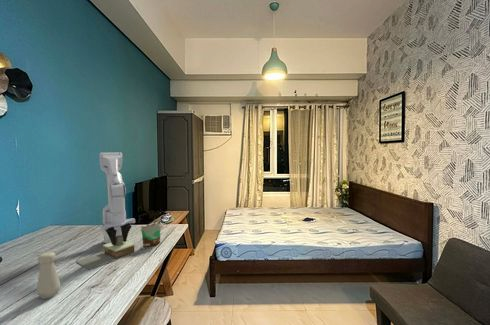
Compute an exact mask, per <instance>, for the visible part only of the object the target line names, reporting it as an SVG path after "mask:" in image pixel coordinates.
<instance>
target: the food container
mask: <svg viewBox="0 0 490 325" xmlns="http://www.w3.org/2000/svg"><path fill="white" fill-rule="evenodd" d="M162 227H163V224H162V222H161V220H159V219H154V221H153V222H151V223H148V224H147V225H146V226H145V225H144V226H143V225H142V226H141V227H140V232H141V236H142V239H141V240H142V247H143V248H153V247H156V246H158V245H159V244H160V243H161V230H162ZM152 246H153V247H152Z"/></svg>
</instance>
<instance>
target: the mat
mask: <svg viewBox="0 0 490 325" xmlns="http://www.w3.org/2000/svg"><path fill="white" fill-rule="evenodd" d="M116 261H117V258H114V257H112V256H110V255H108V254H105V253H102V252H101V253H99V254H95V255H93V256H92V255H91V256H89V257H86V258H83V259H80V260H77V261H75V262H76V264H79V265H80V266H82V267H84V268H85V269H88V271H89V270H90V271H91V270H93V269H96V268H99V267H102V266H105V265H108V264H110V263H114V262H116Z"/></svg>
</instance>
